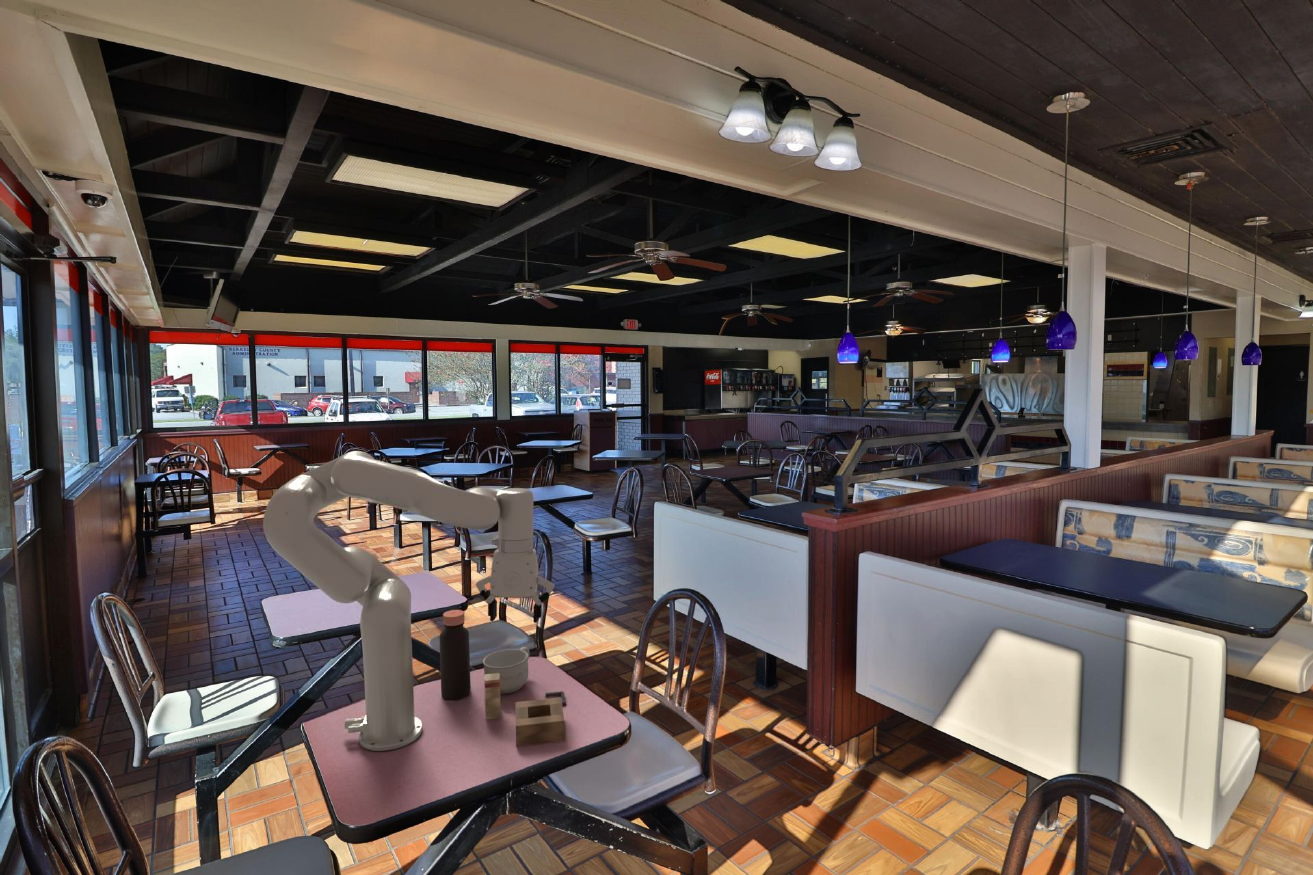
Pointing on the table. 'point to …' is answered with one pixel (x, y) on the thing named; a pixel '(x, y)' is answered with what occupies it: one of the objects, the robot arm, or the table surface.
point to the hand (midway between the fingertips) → (514, 619)
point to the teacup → (508, 668)
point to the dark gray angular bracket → (557, 695)
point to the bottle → (454, 656)
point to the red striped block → (492, 696)
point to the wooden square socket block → (539, 722)
